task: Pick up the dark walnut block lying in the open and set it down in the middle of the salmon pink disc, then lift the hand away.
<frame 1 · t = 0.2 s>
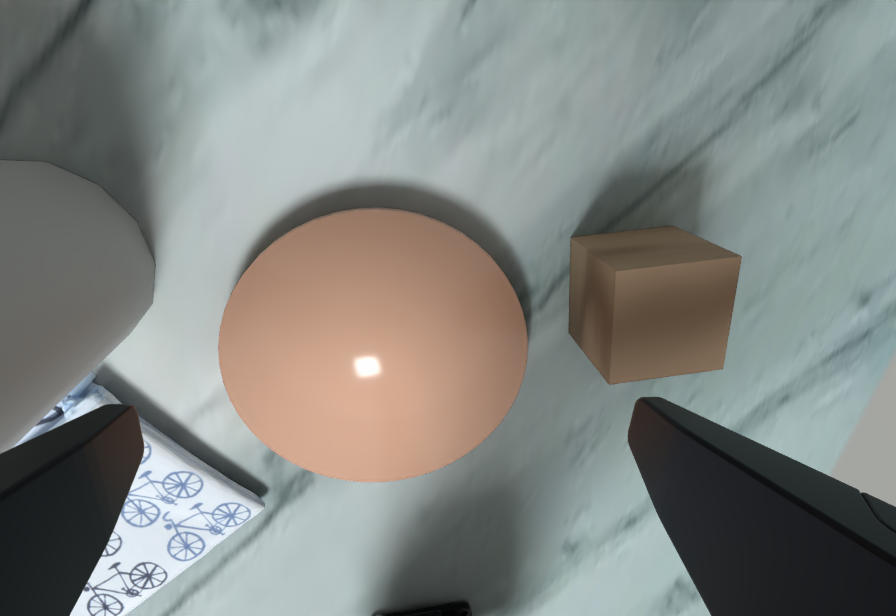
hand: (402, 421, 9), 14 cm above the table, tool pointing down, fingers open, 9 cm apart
salmon pink disc: (379, 348, 24), on the table
cup: (49, 261, 21), on the table
walnut block: (618, 280, 24), on the table
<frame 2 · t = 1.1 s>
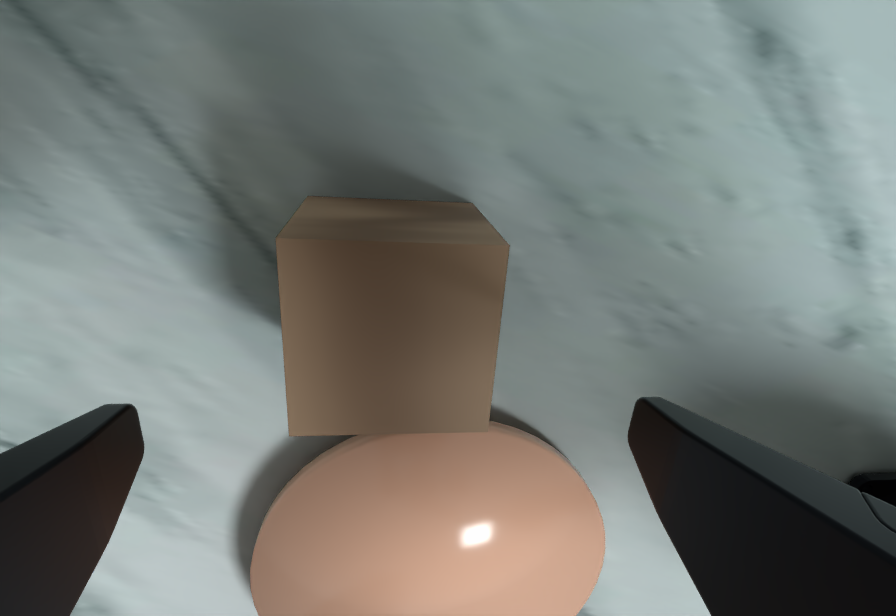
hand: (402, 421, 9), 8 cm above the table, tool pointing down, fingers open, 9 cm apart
salmon pink disc: (431, 547, 21), on the table
walnut block: (390, 276, 16), on the table
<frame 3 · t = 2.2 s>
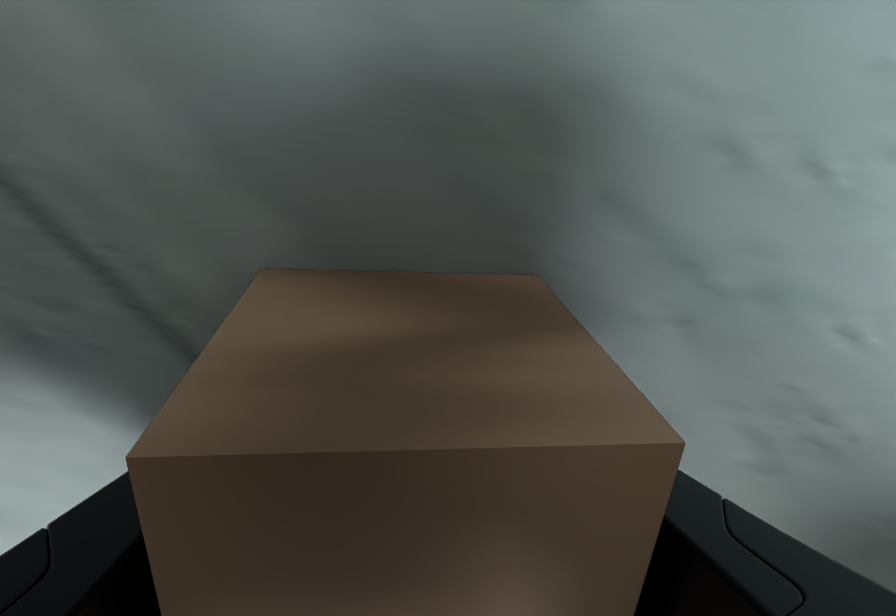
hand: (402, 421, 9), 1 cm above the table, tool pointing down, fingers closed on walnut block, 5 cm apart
walnut block: (400, 389, 10), on the table, touching gripper
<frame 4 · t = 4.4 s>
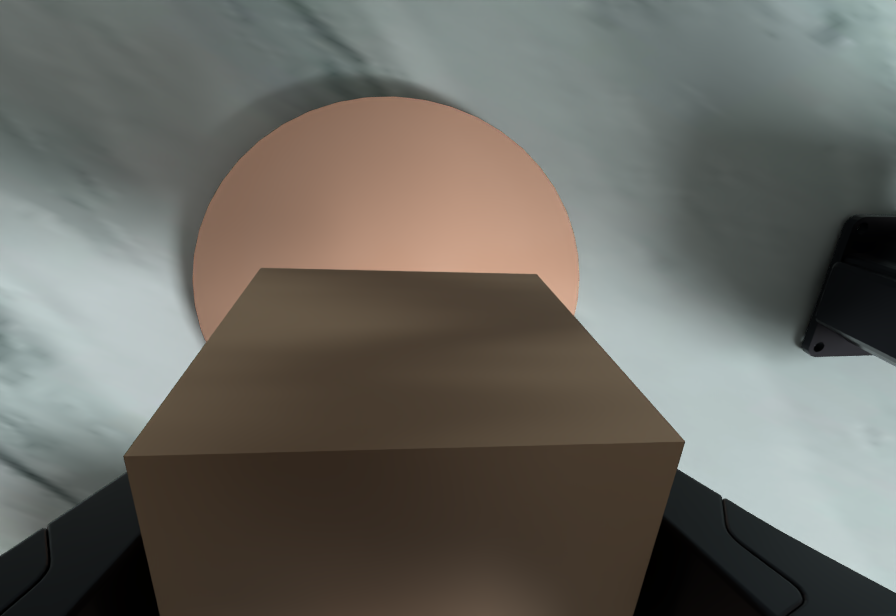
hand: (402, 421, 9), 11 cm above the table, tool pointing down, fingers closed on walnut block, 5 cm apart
salmon pink disc: (394, 289, 19), on the table
walnut block: (400, 389, 10), point 10 cm above the table, touching gripper
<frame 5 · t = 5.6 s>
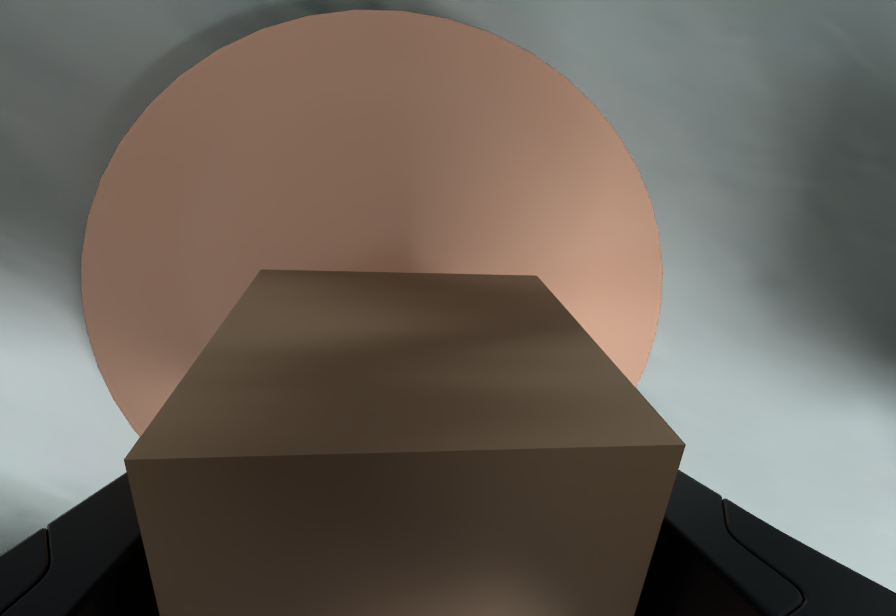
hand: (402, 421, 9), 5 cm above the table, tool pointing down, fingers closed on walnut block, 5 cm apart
salmon pink disc: (392, 311, 14), on the table
walnut block: (400, 390, 10), point 4 cm above the table, touching gripper
when the fingers open (4 cm above the table, at t = 6.6 s): walnut block drops 2 cm, resting on salmon pink disc.
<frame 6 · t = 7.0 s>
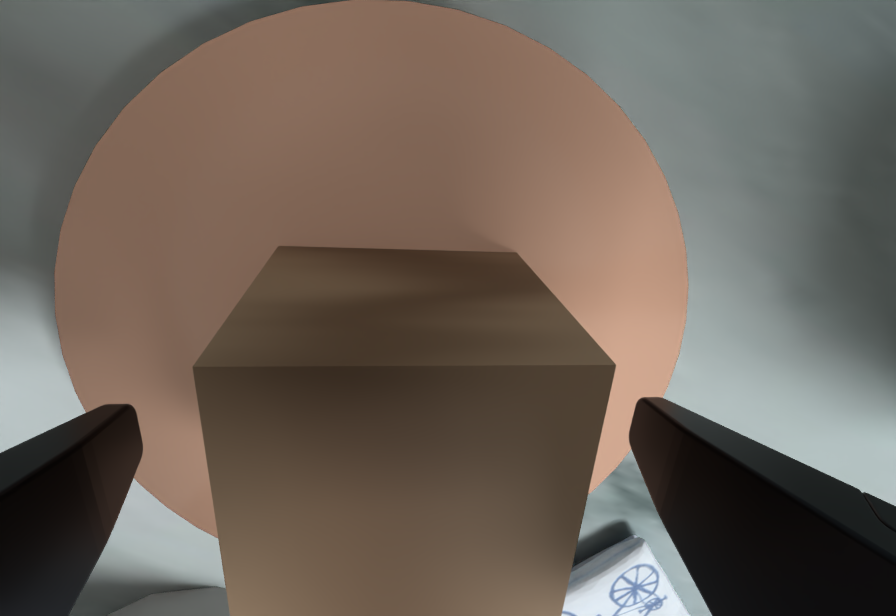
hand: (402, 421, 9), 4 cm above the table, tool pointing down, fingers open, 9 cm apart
salmon pink disc: (395, 328, 13), on the table
walnut block: (398, 354, 11), point 1 cm above the table, touching salmon pink disc
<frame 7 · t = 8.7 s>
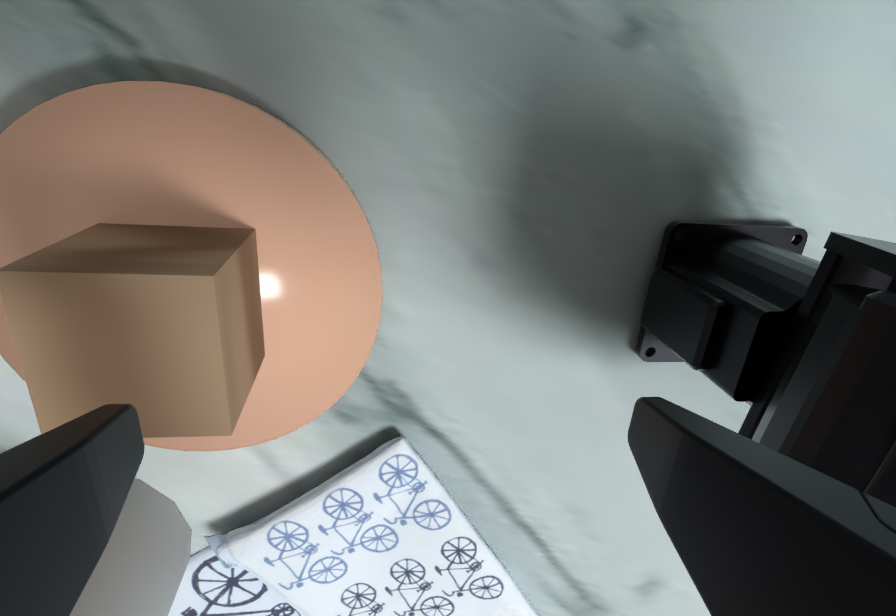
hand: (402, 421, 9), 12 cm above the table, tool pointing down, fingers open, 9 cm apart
salmon pink disc: (199, 280, 19), on the table
cup: (98, 536, 23), on the table
walnut block: (188, 294, 18), point 1 cm above the table, touching salmon pink disc
patterned cloth: (336, 610, 28), on the table
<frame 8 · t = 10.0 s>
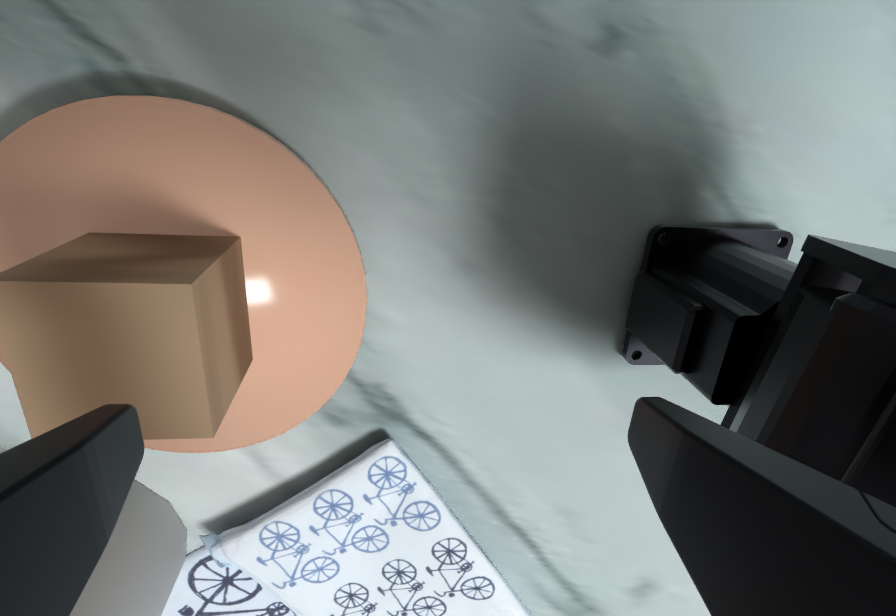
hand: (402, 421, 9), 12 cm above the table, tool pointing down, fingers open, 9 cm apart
salmon pink disc: (189, 287, 20), on the table
cup: (97, 535, 24), on the table
walnut block: (176, 300, 18), point 1 cm above the table, touching salmon pink disc
patterned cloth: (331, 610, 29), on the table
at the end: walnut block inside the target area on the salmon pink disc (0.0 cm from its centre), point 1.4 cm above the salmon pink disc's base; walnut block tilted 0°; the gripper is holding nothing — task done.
